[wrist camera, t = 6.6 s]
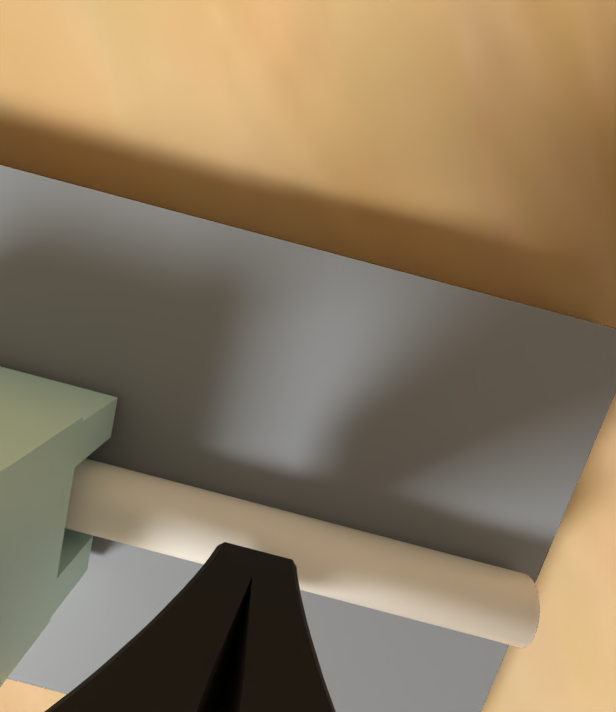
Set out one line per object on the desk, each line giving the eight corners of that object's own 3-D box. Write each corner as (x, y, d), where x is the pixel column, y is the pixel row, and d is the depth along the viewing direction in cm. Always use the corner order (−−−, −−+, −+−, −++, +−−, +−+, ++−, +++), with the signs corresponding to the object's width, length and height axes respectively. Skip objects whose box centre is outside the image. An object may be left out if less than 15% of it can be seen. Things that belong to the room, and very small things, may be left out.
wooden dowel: (519, 533, 11) (565, 602, 9) (487, 614, 11) (522, 699, 9) (-301, 317, 11) (-458, 334, 9) (-299, 407, 11) (-447, 444, 9)
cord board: (598, 323, 11) (639, 334, 9) (434, 734, 14) (446, 793, 12) (-266, 94, 11) (-360, 69, 9) (-262, 552, 13) (-334, 589, 12)
